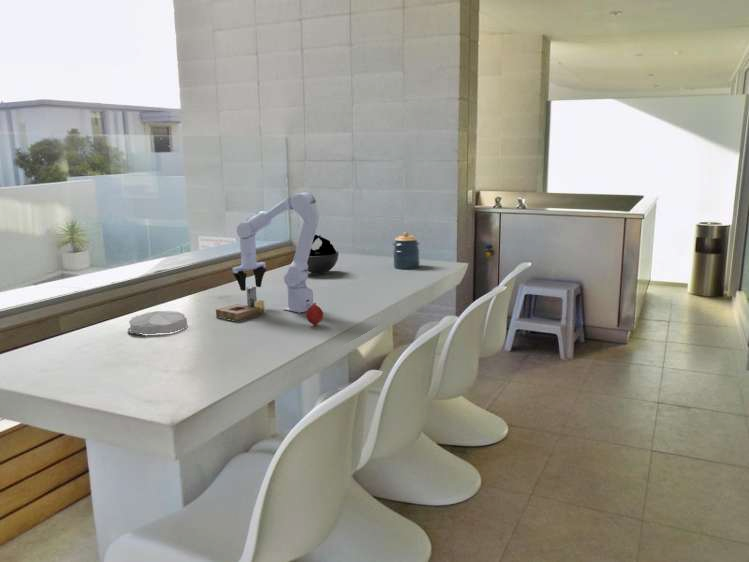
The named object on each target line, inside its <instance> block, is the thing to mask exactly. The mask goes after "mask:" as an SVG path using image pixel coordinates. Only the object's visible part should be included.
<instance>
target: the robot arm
mask: <svg viewBox="0 0 749 562" xmlns="http://www.w3.org/2000/svg"><path fill="white" fill-rule="evenodd" d="M288 210H289V211H291V210H293V211H295V212H296V213H297V214H298V215H299V216H300V217H301V218H302V220H303V223H302V226H301V227H302V228H301V231H300V234H299V237H298V241H297V246H296V249H295V251H294V252H295V253H294V257H293V260H292V262H291V264H290V265H289V267H288V271H286V273H285V274H284V276H283V281H284V284H285V285H286V289H287V291H286V292H287V306H288V307H283V310H285V311H288V312H295V313H300V314H301V312H302V313H305V312H307V310H308V308H309V307H310V306H312V305H313V303H314V292H313V289H311V288H309V287H308V286H307V279H308V277H309V272H308V271H307V269H308V265H307V261H308V257H309V254H310V250H311V249H312V246H313V244H314V243H313V239H314V236H315V235H316V231H317V228H318V224H319V221H320V216H319V212H318V207H317V199H316V198H315V197H314V195H313V194H312V193H311V192H309V191H303V192H301V193H299V192H297V193H295V194H293V195H292V196H288V197H287V198H285V199H283V200H281V201H280V202H279V203H277V204H276V205H274V206H273V207H272V208H270V209H269V210H268V211H264V210H262V211H260V210H258V211H256V212H255V215H253V216H252V217H250V218H249V217H248V218H247V219H246V221H244V222H240V223H239V224H238V225H237V227H236V234H237V235H238V237H239V249H240V259H241V260H240V262H241V264H240V265H237V266H234V267H232V273H233V276H234V277H235V279H236V281H237V283H238V287H239V289H240V291H242V292H244V291H246V288H247V287H246V286H247V285H246V282H247V280H246V278H247V273H246V271H247V272H248V271H252V272H253V274H254V281H255V287H256V288H261V287H262V283H263V282H262V281H263V278H264V275H265V273H266V271H267V269H266V267H267V265H266V264H267V263H266V262H265V261H264V262H263V261H260V262H259V261H257V247H256V246H257V245H256V235H257V233H259V232H260V231H261V230H264V229H265V228H266V227H268V226H269V225H272V224H271V223H272V220H273V219H274V218H276V217H278V216H279V215H281V214H283V213H285V212H286V211H288ZM312 243H313V244H312Z"/></svg>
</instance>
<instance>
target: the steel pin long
mask: <svg viewBox="0 0 749 562" xmlns="http://www.w3.org/2000/svg"><path fill="white" fill-rule="evenodd" d="M245 291H246V301H247V303H246V305H247V306H251V307H254V301H258V298H257V287H256V286H248V287H246V290H245Z"/></svg>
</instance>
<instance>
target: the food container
mask: <svg viewBox="0 0 749 562" xmlns="http://www.w3.org/2000/svg"><path fill="white" fill-rule="evenodd" d="M187 319H188V318H187V317H186V315H185V314H184V313H181V312H179V311H173V310H156V311H150V312H145V313H141V314H137V315H135V316H134V317H132V318H131V319H129V321H128V323H129V324H130V326H129V328H127V331H129V332H130V333H129V332H128V333H129V334H133V333H142V334H156V333H170V332H175V331H178V330H181V329H183V328H186V329H187V328H188V327H189V324H188V320H187ZM130 330H131V331H130Z"/></svg>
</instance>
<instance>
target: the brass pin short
mask: <svg viewBox="0 0 749 562" xmlns="http://www.w3.org/2000/svg"><path fill="white" fill-rule="evenodd" d="M254 307H256V308H258V309H259V315H263V314H262V313H264V314H265V313H266V311H265V310H266V309H265V301H264V300H257V301H254Z"/></svg>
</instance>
